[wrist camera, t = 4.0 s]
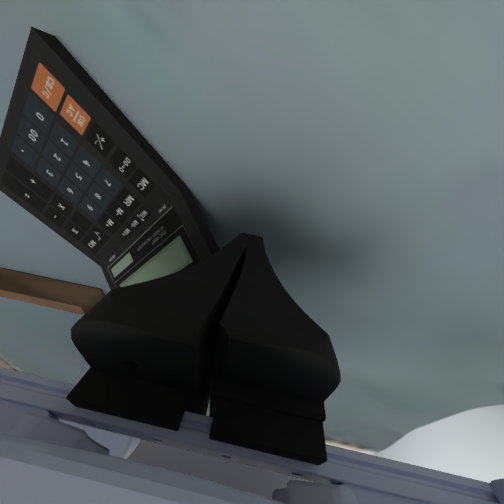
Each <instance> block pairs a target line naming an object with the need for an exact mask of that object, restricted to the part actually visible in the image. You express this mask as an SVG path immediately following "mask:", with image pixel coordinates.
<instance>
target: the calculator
mask: <svg viewBox="0 0 504 504" xmlns="http://www.w3.org/2000/svg"><path fill="white" fill-rule="evenodd" d="M0 191H2V192H3V193H4V194H6V195H7V196H8V197H10V198H11V199H12V200H14V201H15V202H16V203H18V204H19V205H20V206H22V207H23V208H24V209H26V210H27V211H28V212H30V213H31V214H32V215H33V216H35V217H36V218H37V219H39V220H40V221H41V222H43V223H44V224H45V225H47V226H48V227H49V228H51V229H52V230H53V231H55V232H56V233H57V234H59V235H60V236H61V237H63V238H64V239H65V240H67V241H68V242H69V243H70V244H72V245H73V246H74V247H76V248H77V249H78V250H80V251H81V252H82V253H84V254H85V255H86V256H88V257H89V258H90V259H92V260H93V261H94V262H96V263H97V264H98V265H100V266H101V268H102V270H103V273H104V275H105V277H106V280H107V282H108V284H109V287H110V289H111V290H112V289H115V288H120V287H124V286H128V285H133V284H137V283H141V282H146V281H149V280H153V279H156V278H160V277H163V276H166V275H169V274H172V273H175V272H177V271H180V270H182V269H185V268H187V267H190V266H192V265H194V264H197V263H199V262H201V261H203V260H205V259H206V258H208V257H210V256H211V255H213V254H214V253H216V252H217V251H219V250H220V249H219V247H218V245H217V243H216V241H215V239H214V238H213V236H212V234H211V232H210V230H209V228H208V226H207V224H206V222H205V220H204V218H203V216H202V215H201V213H200V211H199V209H198V207H197V205H196V203H195V201H194V199H193V197H192V195H191V193H190V192H189V190H188V188H187V186H186V185H185V184H184V182H183V181H182V180H181V179H180V178H179V177H178V176H177V174H176V173H175V172H174V171H173V170H172V169H171V168H170V167H169V165H168V164H167V163H166V162H165V161H164V160H163V159H162V157H161V156H160V155H159V154H158V153H157V152H156V151H155V150H154V148H153V147H152V146H151V145H150V144H149V143H148V142H147V140H146V139H145V138H144V137H143V136H142V135H141V134H140V132H139V131H138V130H137V129H136V128H135V127H134V126H133V125H132V123H131V122H130V121H129V120H128V119H127V118H126V117H125V115H124V114H123V113H122V112H121V111H120V110H119V109H118V108H117V106H116V105H115V104H114V103H113V102H112V101H111V100H110V98H109V97H108V96H107V95H106V94H105V93H104V92H103V91H102V89H101V88H100V87H99V86H98V85H97V84H96V83H95V81H94V80H93V79H92V78H91V77H90V76H89V75H88V73H87V72H86V71H85V70H84V69H83V68H82V67H81V66H80V64H79V63H78V62H77V61H76V60H75V59H74V58H73V56H72V55H71V54H70V53H69V52H68V51H67V50H66V49H65V47H64V46H63V45H62V44H61V43H60V42H59V41H58V39H57V38H56V37H55V36H53V35H51V34H48V33H46V32H43V31H41V30H38V29H36V28H33V27H31V30H30V34H29V37H28V41H27V44H26V48H25V52H24V55H23V59H22V62H21V66H20V69H19V73H18V76H17V80H16V83H15V87H14V90H13V94H12V98H11V101H10V105H9V108H8V112H7V115H6V119H5V122H4V126H3V129H2V133H1V136H0Z"/></svg>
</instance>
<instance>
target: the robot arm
mask: <svg viewBox="0 0 504 504" xmlns="http://www.w3.org/2000/svg"><path fill="white" fill-rule="evenodd" d="M71 339H72V341H73V343H74V345H75V346H76V348H77V349H78V350H79V352H80V353H81V355H82V356H83V357H84V359H85V360H86V362H87V363H88V365H87V366H86V368H85V369H84V370H83V371H82V372H81V374H80V375H79V376H78V377H77V378H76V380H75V381H74V382H73V383H72V384H69V383H65V382H61V381H57V380H53V379H48V378H44V377H40V376H36V375H32V374H27V373H23V372H19V371H15V370H10V369H6V368H1V367H0V504H504V479H499V480H494V481H491V483H487V482H483V481H478V480H474V479H470V478H466V477H462V476H457V475H453V474H449V473H444V472H441V471H436V470H432V469H428V468H423V467H419V466H415V465H411V464H407V463H402V462H398V461H394V460H390V459H386V458H381V457H377V456H373V455H369V454H365V453H360V452H356V451H352V450H348V449H344V448H339V447H335V446H331V445H327V444H325V438H324V430H323V422H322V421H325V418H326V414H325V407H324V401H325V400H326V399H327V398H328V397H329V395H330V394H331V393H332V392H333V391H334V390H335V389H336V388H337V386H338V385H339V383H340V381H341V378H340V370H339V366H338V361H337V358H336V355H335V352H334V349H333V346H332V343H331V341H330V338H329V335H328V334H327V333H326V332H325V331H324V330H323V329H322V328H321V327H319V326H318V325H317V324H316V323H315V322H314V321H313V320H312V319H311V318H310V317H309V316H308V315H307V314H306V313H305V312H304V311H303V310H302V309H301V308H300V307H299V306H298V305H297V304H296V303H295V301H294V300H293V299H292V298H291V296H290V295H289V294H288V293H287V291H286V290H285V289H284V287H283V286H282V284H281V283H280V281H279V279H278V278H277V276H276V274H275V273H274V271H273V269H272V266H271V264H270V262H269V260H268V257H267V254H266V252H265V248H264V244H263V238H262V237H260V236H255V235H250V234H245V233H241V234H239V235H238V236H237V237H236V238H235V239H234V240H232V241H231V242H230V243H229V244H227V245H226V246H225V247H223V248H222V249H220V250H219V251H217V252H216V253H214V254H213V255H211V256H210V257H208V258H206V259H205V260H203V261H201V262H199V263H197V264H194V265H192V266H190V267H187V268H185V269H182V270H180V271H177V272H175V273H172V274H169V275H166V276H163V277H160V278H156V279H153V280H149V281H146V282H141V283H137V284H133V285H128V286H124V287H120V288H115V289H112V290H111V291H110V292H109V293H108V294H107V295H105V296H104V297H103V298H102V299H101V300H100V301H99V302H98V303H97V304H96V305H95V306H94V307H92V308H91V309H90V310H89V311H88V312H87V313H86V314H85V315H84V316H83V317H82V318H81V319H80V320H79V321H77V322H76V323H75V324H74V326H73V327H72V328H71ZM209 400H210V416H206V412H207V408H208V404H209ZM140 439H142V440H146V441H150V442H154V443H158V444H162V445H166V446H170V447H174V448H179V449H183V450H187V451H191V452H195V453H199V454H203V455H207V456H211V457H215V458H219V459H223V460H227V461H232V462H235V463H240V464H244V465H248V466H252V467H256V468H260V469H264V470H268V471H272V472H276V473H280V474H285V475H288V476H292V477H296V478H301V479H305V480H309V481H313V482H306V481H298V480H290V481H289V482H288V483H287V487H286V488H284V489H276V490H274V492H273V496H272V497H273V498H272V499H270V498H267V497H263V496H260V495H257V494H254V493H250V492H247V491H244V490H240V489H237V488H233V487H230V486H227V485H223V484H220V483H216V482H213V481H209V480H205V479H202V478H198V477H195V476H191V475H187V474H183V473H180V472H176V471H172V470H168V469H164V468H160V467H156V466H152V465H148V464H144V463H141V462H137V461H132V460H128V459H126V458H127V457H128V456H129V455H130V454H131V453H132V452H133V450H134V449H135V448H136V446H137V445H138V443H139V441H140ZM316 482H317V483H316Z"/></svg>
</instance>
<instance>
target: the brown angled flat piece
mask: <svg viewBox="0 0 504 504" xmlns="http://www.w3.org/2000/svg"><path fill="white" fill-rule="evenodd" d="M0 296H1V297H5V298H10V299H14V300H19V301H24V302H28V303H33V304H37V305H42V306H46V307H51V308H56V309H60V310H65V311H69V312H74V313H79V314H83V315H85V314H86V313H87V312H88V311H89V310H90V309H91V308H92V307H94V306H95V305H96V304H97V303H98V302H99V301H100V300H101V299H102V298H103V297H104V294H103V292H102V290H101V289H98V288H93V287H88V286H83V285H79V284H74V283H69V282H64V281H60V280H55V279H50V278H46V277H41V276H36V275H31V274H27V273H22V272H17V271H12V270H8V269H3V268H0Z"/></svg>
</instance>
